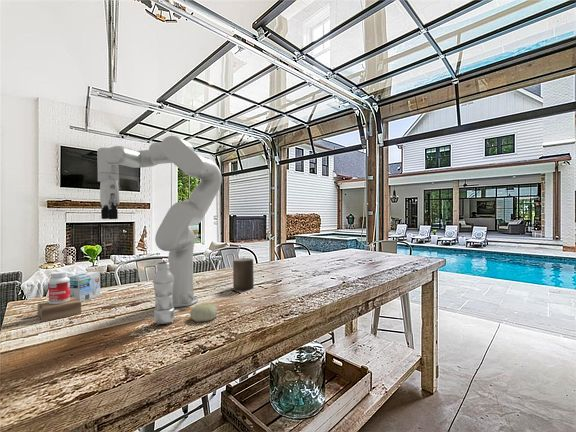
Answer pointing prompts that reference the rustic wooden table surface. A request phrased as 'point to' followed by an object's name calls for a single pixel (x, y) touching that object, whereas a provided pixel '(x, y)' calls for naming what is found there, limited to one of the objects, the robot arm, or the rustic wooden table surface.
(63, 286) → the pill bottle
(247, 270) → the pillar candle
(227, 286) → the rustic wooden table surface
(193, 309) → the sea urchin shell
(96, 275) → the light bulb box
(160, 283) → the plastic bottle
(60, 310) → the walnut base
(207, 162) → the robot arm
